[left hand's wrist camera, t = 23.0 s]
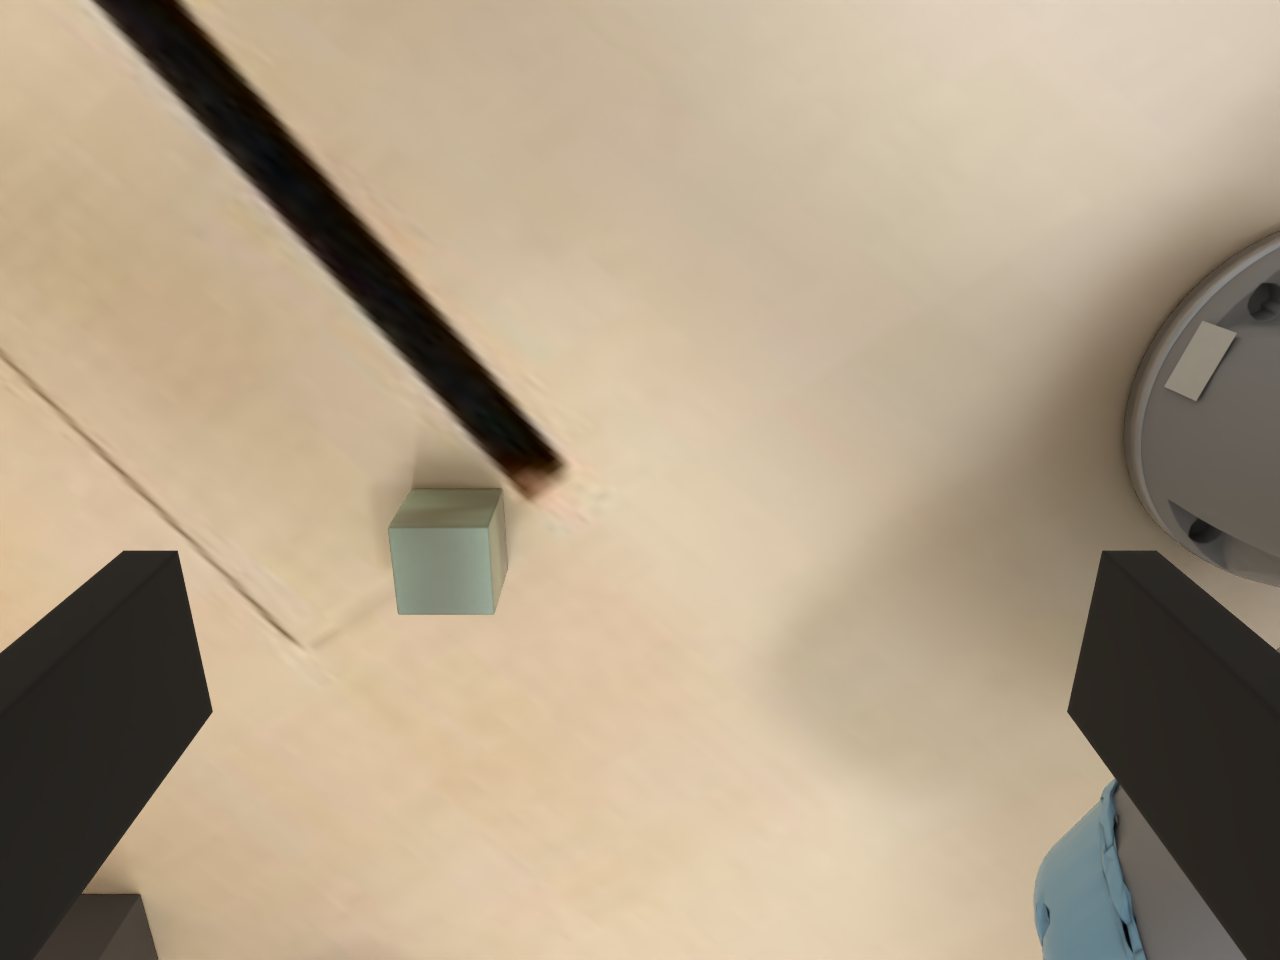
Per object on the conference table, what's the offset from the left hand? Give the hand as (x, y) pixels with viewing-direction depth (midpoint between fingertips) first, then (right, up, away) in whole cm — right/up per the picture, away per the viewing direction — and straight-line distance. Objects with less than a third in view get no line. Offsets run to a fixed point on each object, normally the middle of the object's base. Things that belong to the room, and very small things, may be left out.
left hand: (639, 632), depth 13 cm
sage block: (-8, 0, +27) cm, 28 cm away
